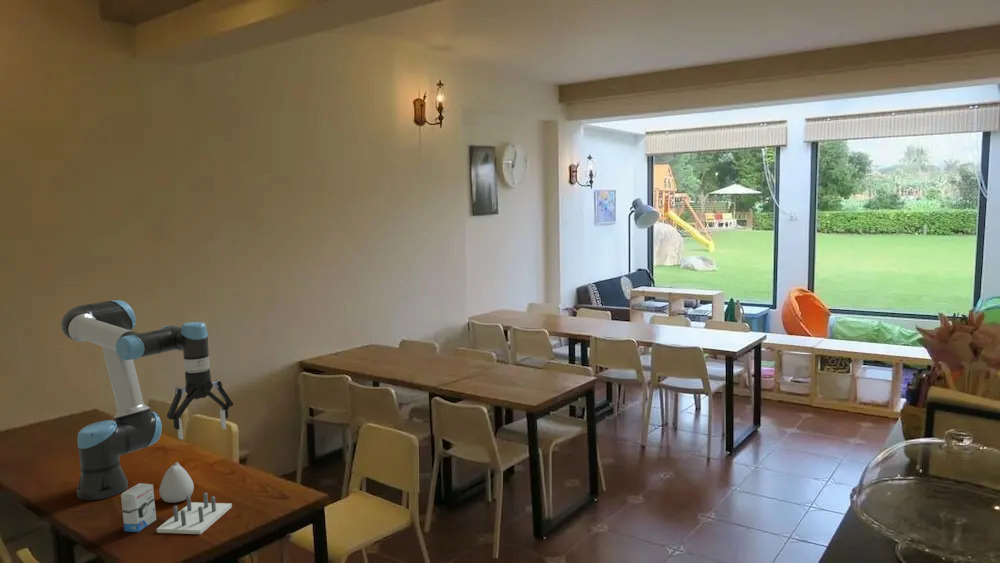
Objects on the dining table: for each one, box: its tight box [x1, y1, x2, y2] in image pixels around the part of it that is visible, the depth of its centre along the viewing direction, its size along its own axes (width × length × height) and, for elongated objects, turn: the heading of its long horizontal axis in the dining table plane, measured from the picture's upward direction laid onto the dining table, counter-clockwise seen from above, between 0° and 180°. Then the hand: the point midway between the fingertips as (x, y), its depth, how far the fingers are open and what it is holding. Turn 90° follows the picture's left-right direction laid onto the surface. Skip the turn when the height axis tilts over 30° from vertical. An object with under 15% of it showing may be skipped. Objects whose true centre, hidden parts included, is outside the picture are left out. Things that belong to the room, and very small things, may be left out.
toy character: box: [158, 461, 195, 504], centre depth 229 cm, size 10×10×12 cm
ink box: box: [120, 482, 157, 533], centre depth 211 cm, size 8×5×12 cm, turn 168°
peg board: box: [156, 492, 233, 535], centre depth 214 cm, size 14×18×6 cm
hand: (202, 433), depth 227 cm, fingers open, 13 cm apart
